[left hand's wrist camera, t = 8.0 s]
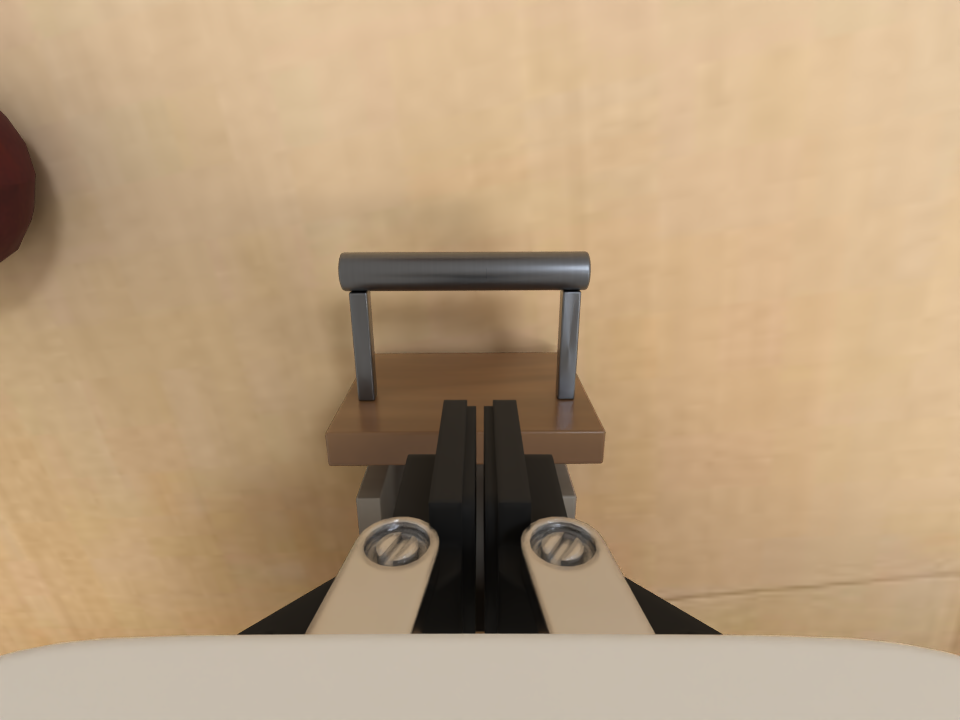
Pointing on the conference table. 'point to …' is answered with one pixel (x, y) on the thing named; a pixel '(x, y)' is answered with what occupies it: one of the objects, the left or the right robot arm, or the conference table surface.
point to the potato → (14, 188)
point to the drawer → (460, 378)
